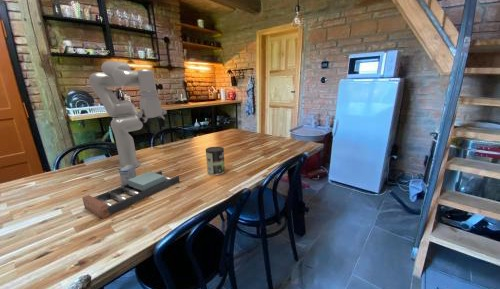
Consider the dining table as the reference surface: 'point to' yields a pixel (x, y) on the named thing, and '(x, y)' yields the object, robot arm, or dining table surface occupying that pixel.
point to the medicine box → (127, 174)
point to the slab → (146, 181)
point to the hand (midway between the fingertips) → (154, 128)
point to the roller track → (105, 208)
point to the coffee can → (215, 160)
